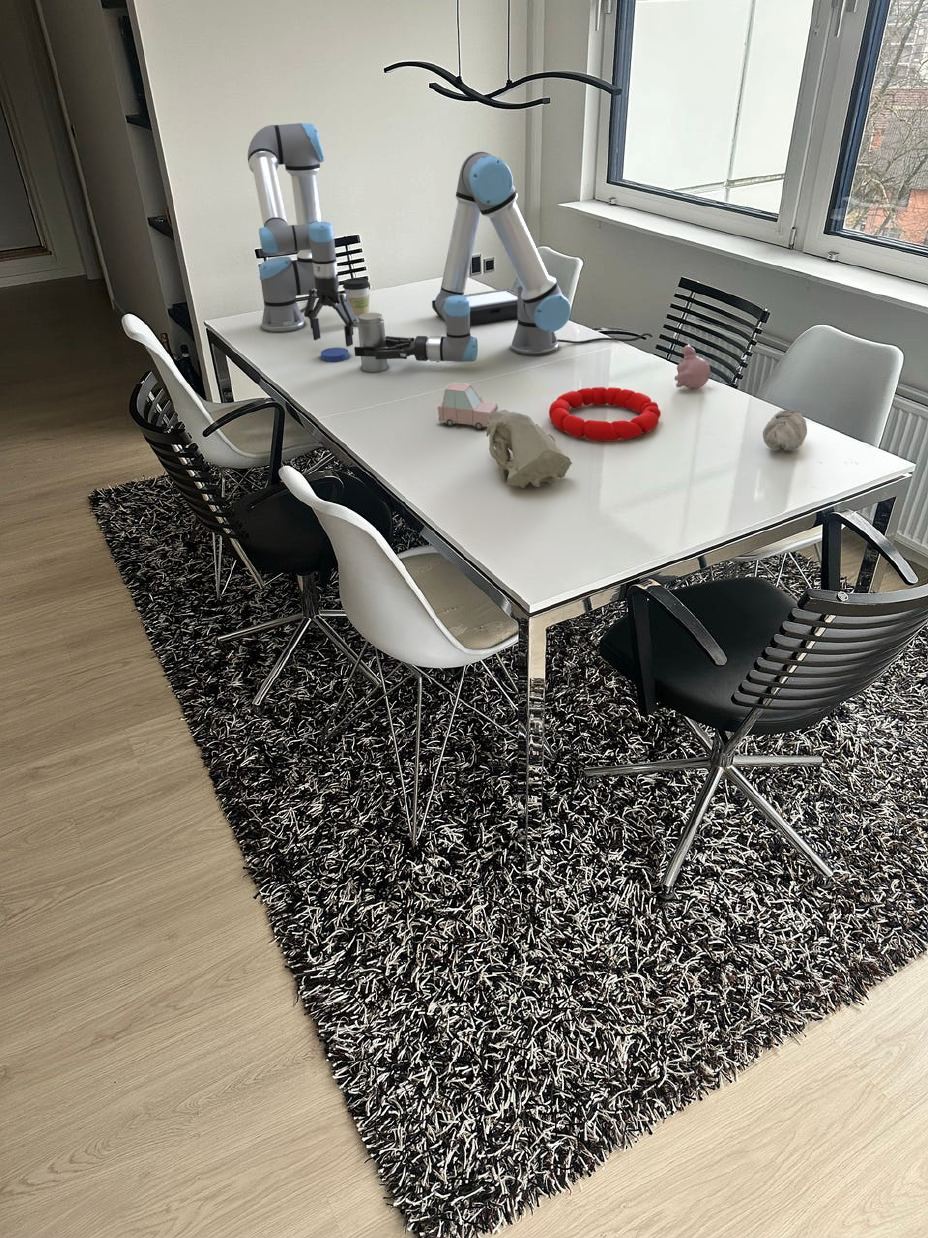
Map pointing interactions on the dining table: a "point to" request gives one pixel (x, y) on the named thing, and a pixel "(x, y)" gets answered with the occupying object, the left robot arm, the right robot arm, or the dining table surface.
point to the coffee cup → (357, 295)
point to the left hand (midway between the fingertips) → (333, 342)
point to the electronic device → (490, 306)
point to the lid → (334, 354)
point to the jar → (372, 340)
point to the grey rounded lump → (785, 431)
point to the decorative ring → (604, 428)
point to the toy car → (465, 406)
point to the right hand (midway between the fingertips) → (358, 346)
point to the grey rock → (525, 450)
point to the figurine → (692, 370)
